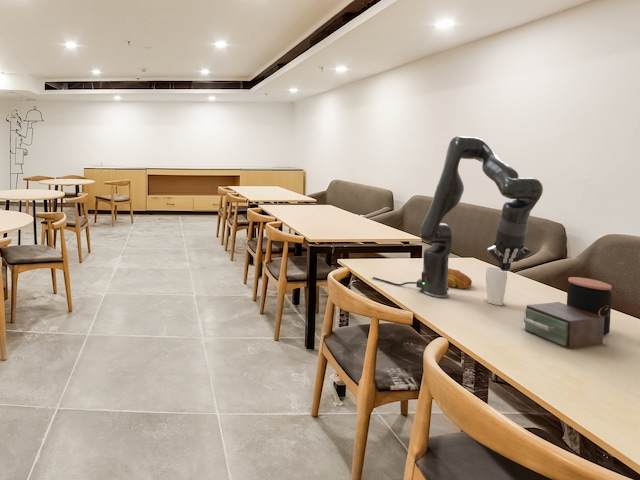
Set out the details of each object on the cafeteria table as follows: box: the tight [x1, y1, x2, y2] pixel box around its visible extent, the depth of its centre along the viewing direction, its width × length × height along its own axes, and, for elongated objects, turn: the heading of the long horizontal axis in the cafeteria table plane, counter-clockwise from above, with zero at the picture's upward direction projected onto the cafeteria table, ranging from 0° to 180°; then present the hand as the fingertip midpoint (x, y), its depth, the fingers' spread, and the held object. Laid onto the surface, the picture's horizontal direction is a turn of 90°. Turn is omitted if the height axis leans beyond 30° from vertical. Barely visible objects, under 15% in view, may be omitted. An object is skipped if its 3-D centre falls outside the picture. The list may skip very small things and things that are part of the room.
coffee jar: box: [566, 276, 613, 336], centre depth 136 cm, size 11×11×18 cm
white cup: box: [485, 266, 508, 306], centre depth 158 cm, size 7×7×15 cm
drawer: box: [523, 308, 568, 347], centre depth 129 cm, size 19×11×8 cm, turn 101°
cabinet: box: [524, 301, 605, 350], centre depth 130 cm, size 16×13×10 cm
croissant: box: [447, 267, 473, 290], centre depth 180 cm, size 14×16×8 cm
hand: (503, 269), depth 135 cm, fingers closed
